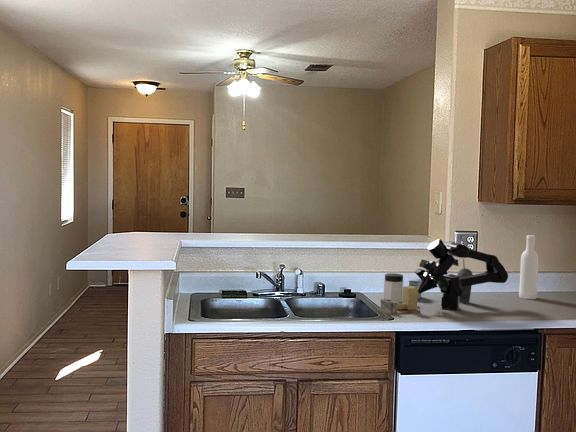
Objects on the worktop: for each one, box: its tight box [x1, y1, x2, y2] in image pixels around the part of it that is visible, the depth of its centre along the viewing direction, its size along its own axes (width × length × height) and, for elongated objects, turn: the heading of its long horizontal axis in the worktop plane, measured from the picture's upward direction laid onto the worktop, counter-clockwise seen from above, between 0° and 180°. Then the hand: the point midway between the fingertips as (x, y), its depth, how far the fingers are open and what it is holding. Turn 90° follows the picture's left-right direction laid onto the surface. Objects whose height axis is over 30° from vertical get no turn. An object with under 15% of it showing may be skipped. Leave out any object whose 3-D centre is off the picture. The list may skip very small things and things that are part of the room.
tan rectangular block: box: [397, 285, 418, 310], centre depth 250 cm, size 9×4×9 cm, turn 109°
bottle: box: [518, 234, 540, 300], centre depth 284 cm, size 8×8×30 cm
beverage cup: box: [457, 258, 474, 304], centre depth 270 cm, size 7×7×20 cm
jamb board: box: [379, 298, 421, 316], centre depth 250 cm, size 14×8×5 cm, turn 109°
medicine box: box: [408, 277, 422, 301], centre depth 278 cm, size 8×4×9 cm, turn 155°
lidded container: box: [383, 272, 404, 304], centre depth 270 cm, size 9×8×12 cm
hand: (418, 292), depth 252 cm, fingers closed
